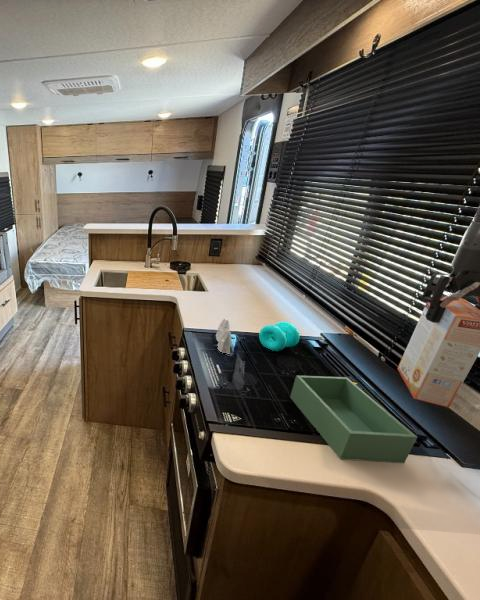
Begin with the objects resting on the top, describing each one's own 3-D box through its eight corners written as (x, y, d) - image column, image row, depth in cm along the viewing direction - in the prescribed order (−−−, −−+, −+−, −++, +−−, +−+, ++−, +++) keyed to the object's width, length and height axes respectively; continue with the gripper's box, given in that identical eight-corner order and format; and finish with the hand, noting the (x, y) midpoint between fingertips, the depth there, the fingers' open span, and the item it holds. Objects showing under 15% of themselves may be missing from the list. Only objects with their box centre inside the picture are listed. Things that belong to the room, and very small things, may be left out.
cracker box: (451, 409, 65) (499, 321, 57) (412, 399, 68) (452, 314, 60) (429, 376, 76) (467, 297, 68) (396, 368, 79) (428, 293, 71)
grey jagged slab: (214, 338, 124) (218, 314, 120) (225, 340, 123) (230, 315, 118) (217, 354, 113) (222, 327, 109) (230, 355, 112) (235, 328, 108)
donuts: (297, 351, 114) (304, 327, 111) (279, 357, 111) (285, 332, 107) (273, 339, 123) (278, 316, 119) (255, 344, 119) (260, 321, 116)
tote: (339, 399, 89) (347, 377, 87) (404, 463, 69) (417, 437, 67) (289, 397, 91) (296, 375, 88) (340, 459, 71) (350, 433, 68)
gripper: (469, 250, 57) (433, 329, 63) (557, 250, 55) (512, 331, 61) (430, 242, 64) (401, 314, 70) (508, 242, 62) (471, 315, 68)
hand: (453, 321), depth 66 cm, fingers closed on cracker box, 8 cm apart
